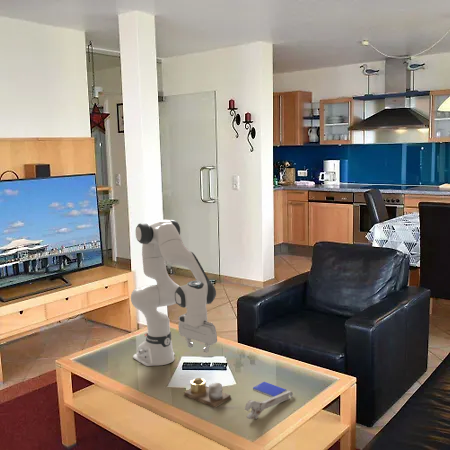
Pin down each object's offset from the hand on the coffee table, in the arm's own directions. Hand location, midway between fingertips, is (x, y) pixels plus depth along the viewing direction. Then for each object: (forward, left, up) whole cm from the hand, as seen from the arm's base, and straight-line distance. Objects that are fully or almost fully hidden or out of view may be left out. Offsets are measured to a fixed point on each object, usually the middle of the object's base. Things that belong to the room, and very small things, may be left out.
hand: (198, 349), depth 235 cm
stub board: (+6, -2, -19) cm, 20 cm away
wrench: (+34, +6, -20) cm, 40 cm away
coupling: (+1, -2, -18) cm, 18 cm away
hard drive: (+24, +19, -20) cm, 37 cm away
